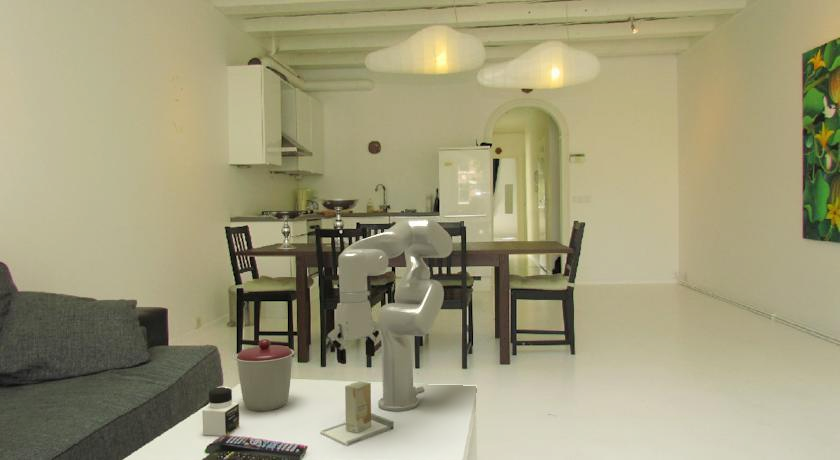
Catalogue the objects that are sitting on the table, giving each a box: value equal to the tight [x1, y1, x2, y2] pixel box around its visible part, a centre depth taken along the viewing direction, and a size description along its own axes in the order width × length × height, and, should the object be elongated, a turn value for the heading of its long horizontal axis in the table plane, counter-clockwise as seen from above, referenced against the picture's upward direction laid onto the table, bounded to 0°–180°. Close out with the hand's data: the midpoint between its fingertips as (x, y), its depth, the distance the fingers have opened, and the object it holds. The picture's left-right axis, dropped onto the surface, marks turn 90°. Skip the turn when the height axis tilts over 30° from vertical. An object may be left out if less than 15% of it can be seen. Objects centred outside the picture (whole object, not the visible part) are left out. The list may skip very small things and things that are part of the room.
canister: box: [234, 338, 295, 412], centre depth 176 cm, size 18×18×21 cm
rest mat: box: [319, 412, 395, 447], centre depth 153 cm, size 16×12×2 cm
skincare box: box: [344, 380, 372, 433], centre depth 153 cm, size 6×4×12 cm
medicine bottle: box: [201, 386, 240, 437], centre depth 155 cm, size 7×7×12 cm
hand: (356, 359), depth 153 cm, fingers open, 9 cm apart
